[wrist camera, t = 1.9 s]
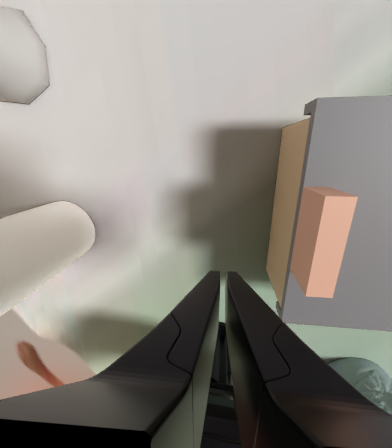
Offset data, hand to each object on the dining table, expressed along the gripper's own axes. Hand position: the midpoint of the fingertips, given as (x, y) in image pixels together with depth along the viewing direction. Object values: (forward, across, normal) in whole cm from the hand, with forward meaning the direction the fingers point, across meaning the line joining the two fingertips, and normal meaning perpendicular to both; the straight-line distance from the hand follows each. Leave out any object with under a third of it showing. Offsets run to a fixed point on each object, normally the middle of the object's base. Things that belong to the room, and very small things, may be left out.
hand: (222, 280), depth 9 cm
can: (+13, +17, +3) cm, 22 cm away
